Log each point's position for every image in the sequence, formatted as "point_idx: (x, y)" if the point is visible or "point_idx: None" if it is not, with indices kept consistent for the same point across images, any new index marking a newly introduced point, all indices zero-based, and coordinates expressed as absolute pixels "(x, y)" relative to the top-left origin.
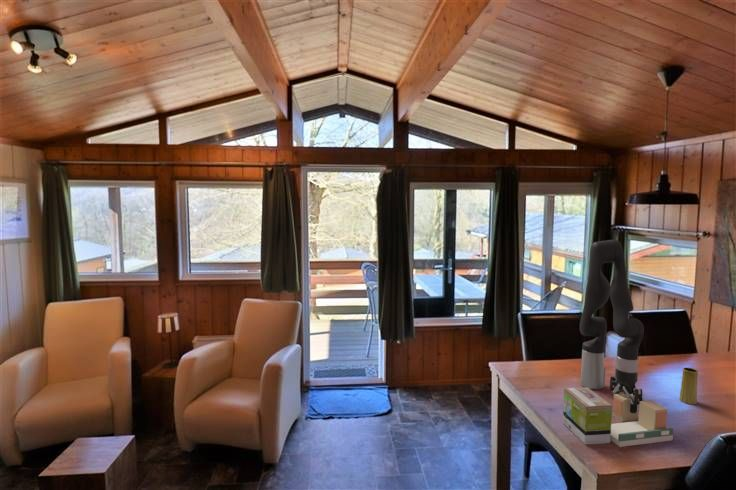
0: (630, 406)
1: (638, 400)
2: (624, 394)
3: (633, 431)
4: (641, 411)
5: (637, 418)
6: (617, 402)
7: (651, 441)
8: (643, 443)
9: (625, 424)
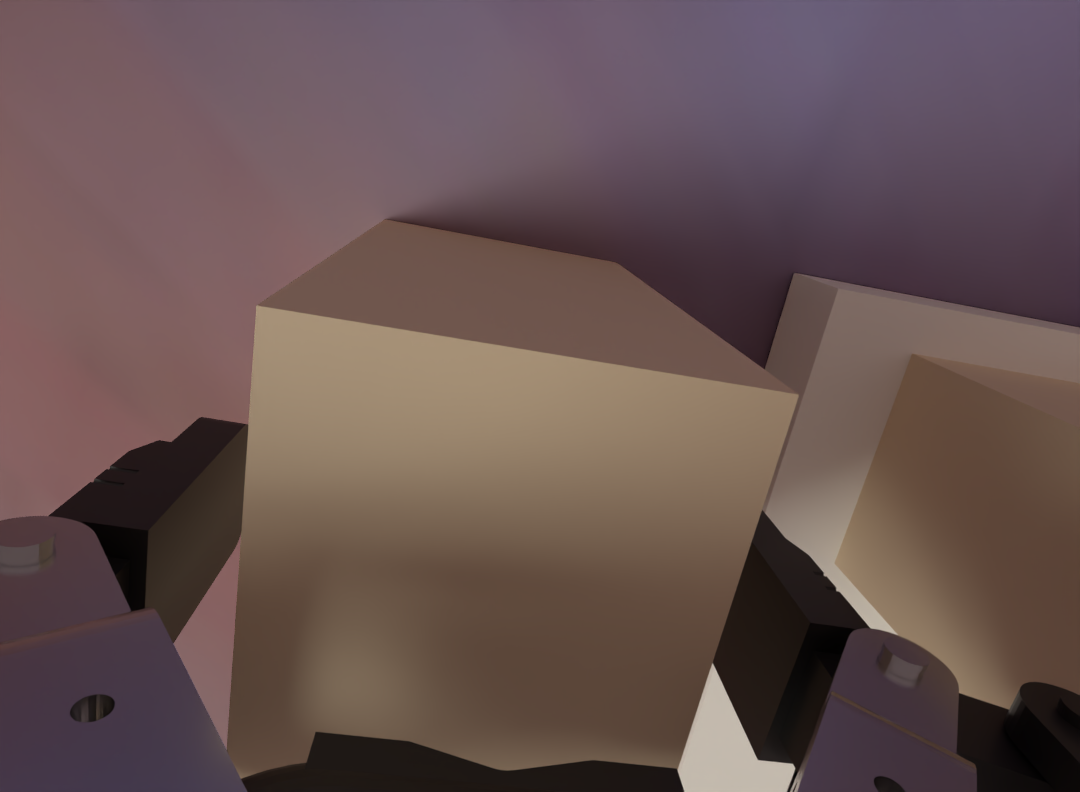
0: (739, 699)
1: (756, 374)
2: (338, 605)
3: None
4: None
5: (620, 267)
6: None
7: None
8: None
9: (744, 733)
